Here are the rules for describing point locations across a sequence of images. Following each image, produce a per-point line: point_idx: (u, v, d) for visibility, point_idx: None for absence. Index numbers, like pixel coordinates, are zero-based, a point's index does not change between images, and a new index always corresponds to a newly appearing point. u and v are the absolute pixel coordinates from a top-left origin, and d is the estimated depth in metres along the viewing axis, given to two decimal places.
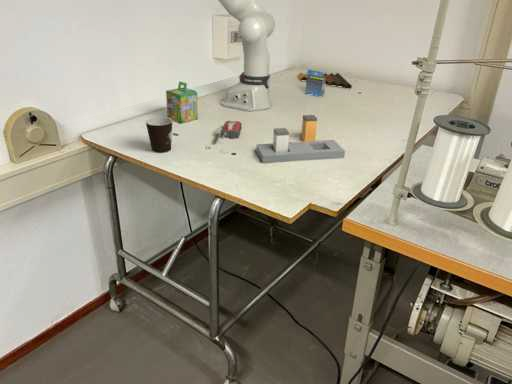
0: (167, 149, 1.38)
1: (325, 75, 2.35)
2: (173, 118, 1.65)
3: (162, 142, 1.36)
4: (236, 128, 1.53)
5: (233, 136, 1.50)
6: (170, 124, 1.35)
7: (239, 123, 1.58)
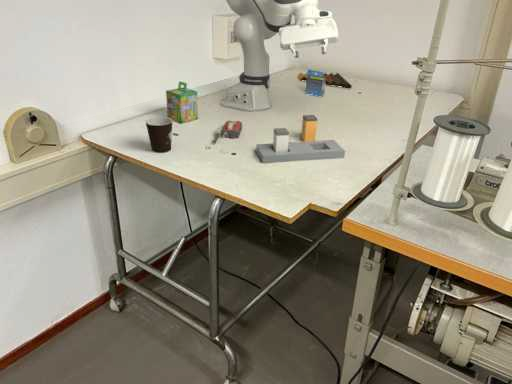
0: (167, 149, 1.38)
1: (325, 75, 2.35)
2: (173, 118, 1.65)
3: (162, 142, 1.36)
4: (236, 128, 1.53)
5: (233, 136, 1.50)
6: (170, 124, 1.35)
7: (239, 123, 1.58)
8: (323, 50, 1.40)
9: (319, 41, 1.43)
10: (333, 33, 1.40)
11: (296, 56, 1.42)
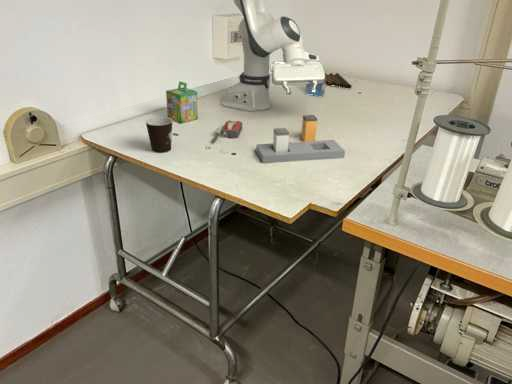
0: (167, 149, 1.38)
1: (325, 75, 2.35)
2: (173, 118, 1.65)
3: (162, 142, 1.36)
4: (236, 128, 1.53)
5: (232, 136, 1.50)
6: (170, 124, 1.35)
7: (240, 123, 1.58)
8: (313, 90, 1.54)
9: (307, 81, 1.57)
10: (321, 76, 1.55)
11: (289, 93, 1.53)
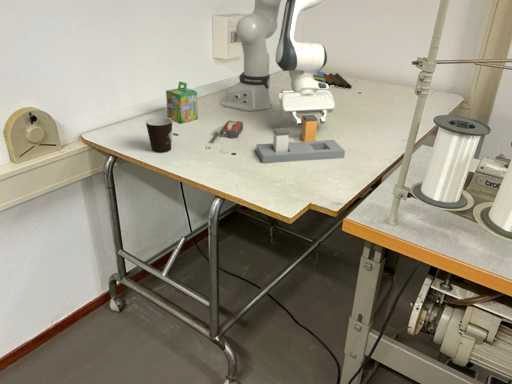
0: (167, 149, 1.38)
1: (324, 75, 2.35)
2: (173, 118, 1.65)
3: (162, 142, 1.36)
4: (236, 128, 1.53)
5: (232, 136, 1.50)
6: (170, 124, 1.35)
7: (240, 123, 1.58)
8: (323, 120, 1.49)
9: (317, 110, 1.52)
10: (331, 105, 1.51)
11: (298, 123, 1.48)
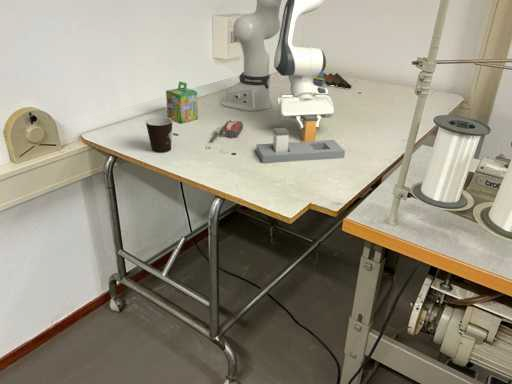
0: (167, 149, 1.38)
1: (324, 75, 2.35)
2: (173, 118, 1.65)
3: (162, 142, 1.36)
4: (235, 128, 1.53)
5: (231, 136, 1.50)
6: (170, 124, 1.35)
7: (240, 123, 1.58)
8: (317, 126, 1.48)
9: None
10: (330, 111, 1.50)
11: (302, 128, 1.48)
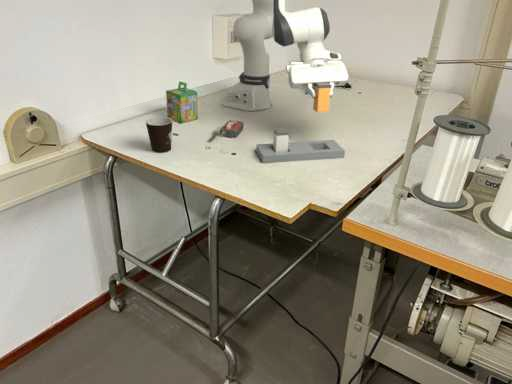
0: (167, 149, 1.38)
1: None
2: (173, 118, 1.65)
3: (162, 142, 1.36)
4: (235, 128, 1.53)
5: (231, 135, 1.51)
6: (170, 124, 1.35)
7: (241, 123, 1.58)
8: (330, 94, 1.36)
9: None
10: (344, 77, 1.38)
11: (315, 96, 1.35)
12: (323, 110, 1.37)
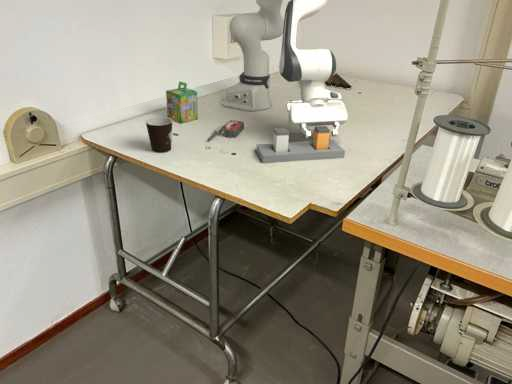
0: (167, 149, 1.38)
1: None
2: (173, 118, 1.65)
3: (162, 142, 1.36)
4: (235, 127, 1.53)
5: (230, 135, 1.51)
6: (170, 124, 1.35)
7: (241, 123, 1.58)
8: (335, 133, 1.38)
9: (328, 122, 1.40)
10: (344, 117, 1.39)
11: (308, 136, 1.36)
12: None
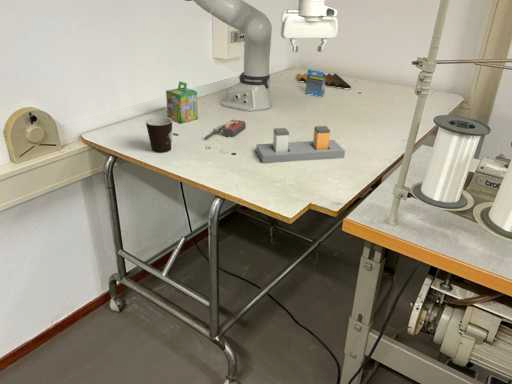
0: (167, 149, 1.38)
1: (323, 76, 2.34)
2: (173, 118, 1.65)
3: (162, 142, 1.36)
4: (234, 127, 1.53)
5: (228, 134, 1.51)
6: (170, 124, 1.35)
7: (242, 123, 1.58)
8: (320, 50, 1.48)
9: None
10: (333, 35, 1.46)
11: (295, 51, 1.47)
12: None
